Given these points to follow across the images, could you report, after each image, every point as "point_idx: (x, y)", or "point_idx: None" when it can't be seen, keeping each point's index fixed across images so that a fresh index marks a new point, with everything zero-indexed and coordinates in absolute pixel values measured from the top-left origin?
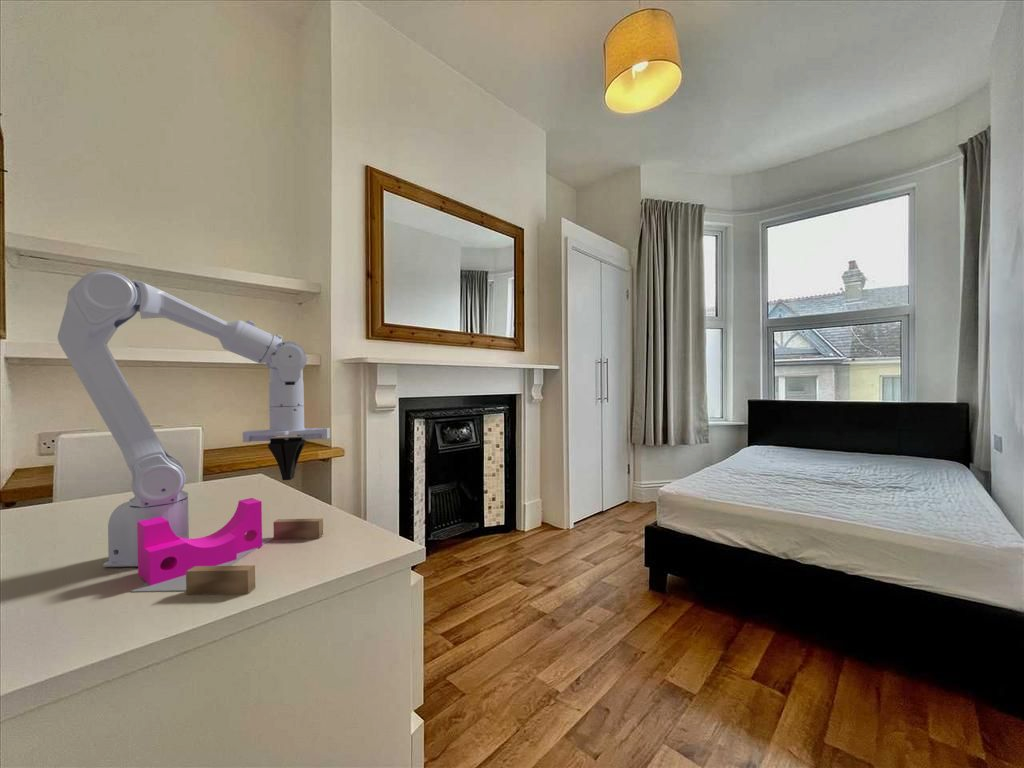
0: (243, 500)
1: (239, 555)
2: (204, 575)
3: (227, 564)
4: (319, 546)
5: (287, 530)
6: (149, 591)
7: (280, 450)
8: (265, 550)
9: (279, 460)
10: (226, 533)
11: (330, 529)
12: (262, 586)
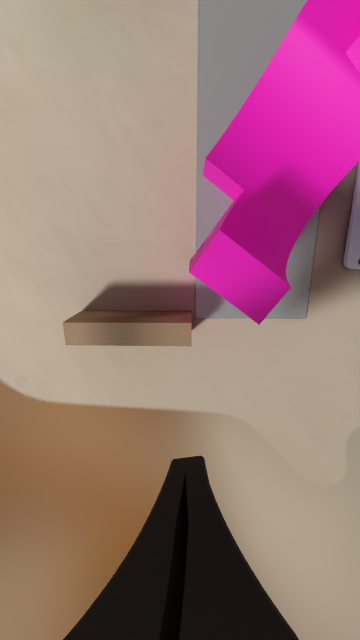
0: (273, 289)
1: (210, 200)
2: None
3: (205, 141)
4: (51, 259)
5: (155, 316)
6: None
7: (194, 615)
8: (168, 238)
9: (211, 537)
10: (257, 195)
11: (89, 368)
12: (37, 4)
